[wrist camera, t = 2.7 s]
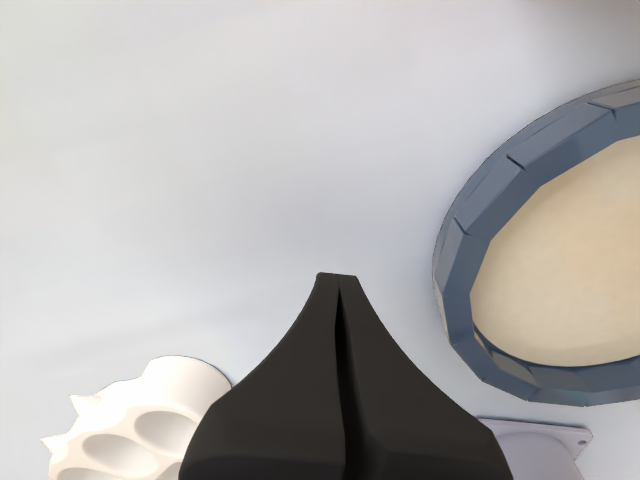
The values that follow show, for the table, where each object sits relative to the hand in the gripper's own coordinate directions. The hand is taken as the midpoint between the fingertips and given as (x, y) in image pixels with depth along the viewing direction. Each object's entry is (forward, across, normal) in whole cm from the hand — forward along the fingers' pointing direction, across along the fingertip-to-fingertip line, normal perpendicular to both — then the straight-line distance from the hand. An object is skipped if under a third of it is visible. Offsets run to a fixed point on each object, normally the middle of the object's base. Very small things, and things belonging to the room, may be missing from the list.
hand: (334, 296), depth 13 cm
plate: (+6, -13, 0) cm, 14 cm away
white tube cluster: (+6, +10, +19) cm, 22 cm away
